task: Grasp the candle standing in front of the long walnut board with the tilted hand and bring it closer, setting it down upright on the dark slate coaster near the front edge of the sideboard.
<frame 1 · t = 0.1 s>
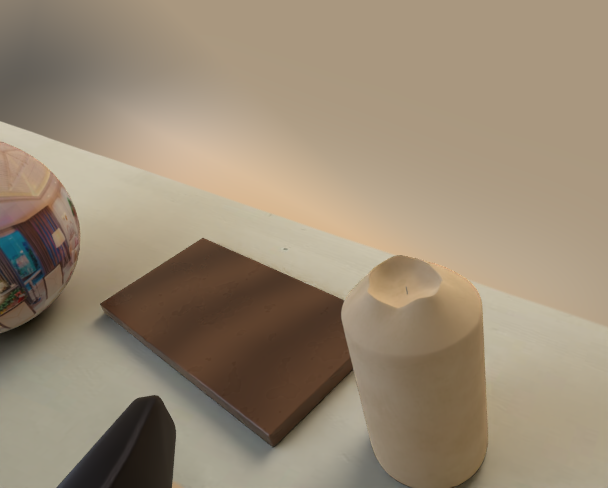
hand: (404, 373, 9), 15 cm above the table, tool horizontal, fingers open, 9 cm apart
ornament: (22, 314, 43), on the table
walnut board: (231, 321, 36), on the table
candle: (428, 441, 25), on the table
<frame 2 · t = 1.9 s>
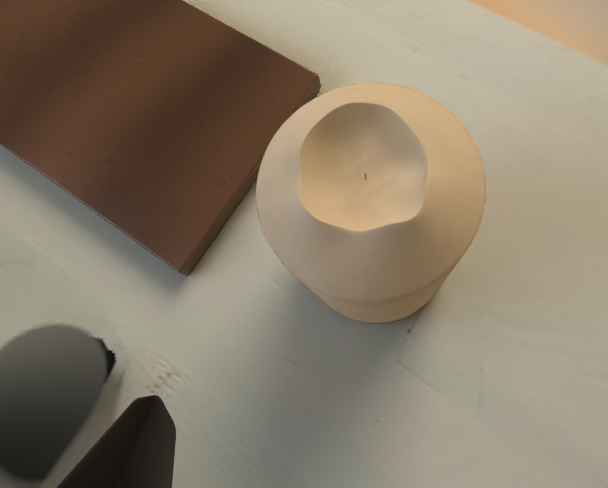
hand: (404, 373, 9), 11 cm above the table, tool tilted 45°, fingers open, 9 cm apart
walnut board: (89, 74, 25), on the table
candle: (375, 255, 21), on the table
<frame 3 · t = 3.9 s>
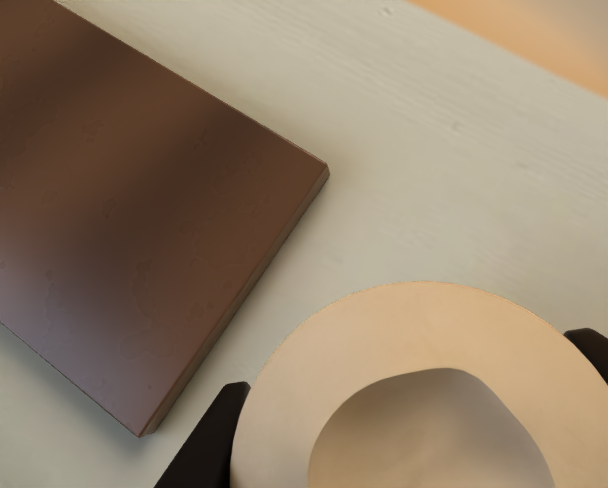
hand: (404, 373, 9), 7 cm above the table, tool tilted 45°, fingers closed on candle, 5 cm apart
walnut board: (29, 149, 19), on the table
candle: (404, 413, 15), on the table, touching gripper
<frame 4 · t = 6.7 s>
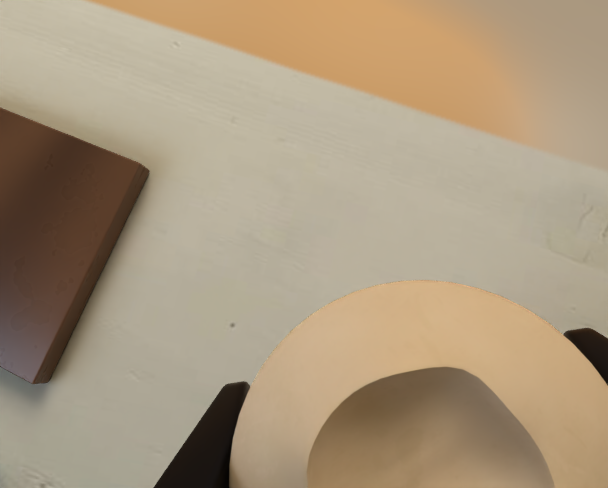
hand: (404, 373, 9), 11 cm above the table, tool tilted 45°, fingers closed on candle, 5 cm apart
candle: (404, 413, 15), point 4 cm above the table, touching gripper
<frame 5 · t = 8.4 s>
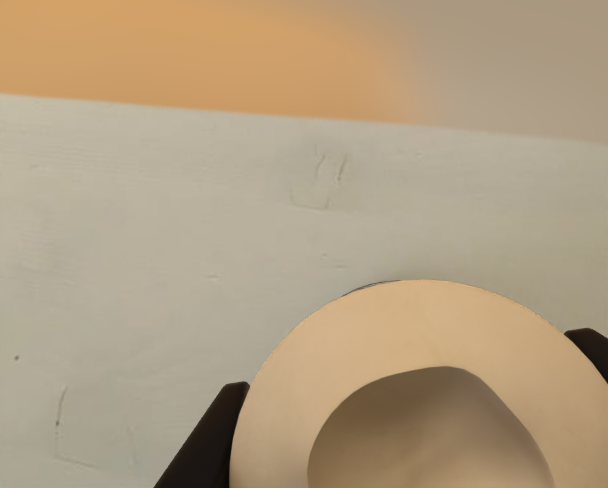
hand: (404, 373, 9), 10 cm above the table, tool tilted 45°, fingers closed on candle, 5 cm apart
candle: (404, 412, 15), point 3 cm above the table, touching gripper
when the fingers open (7 cm above the table, at t = 9.6 s): candle stays where it is, resting on coaster.
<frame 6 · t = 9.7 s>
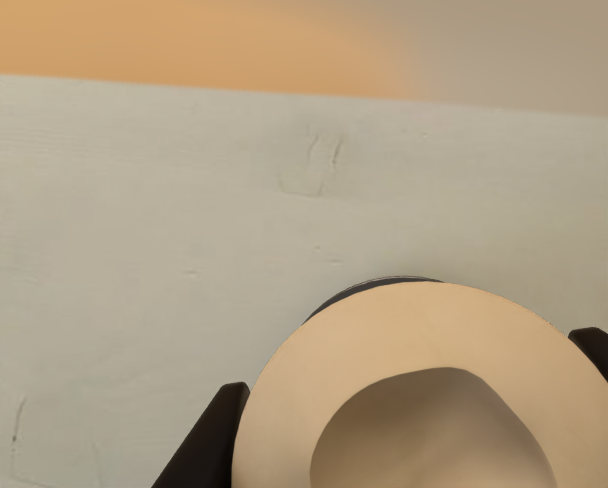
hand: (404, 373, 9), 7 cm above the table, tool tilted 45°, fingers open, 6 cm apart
coaster: (405, 407, 16), on the table
candle: (406, 416, 15), point 1 cm above the table, touching coaster
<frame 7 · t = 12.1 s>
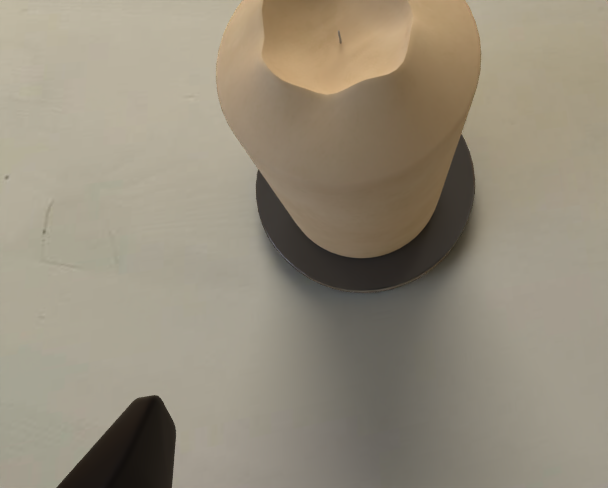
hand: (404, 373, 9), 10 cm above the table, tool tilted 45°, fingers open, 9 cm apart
coaster: (362, 188, 20), on the table
candle: (362, 187, 19), point 1 cm above the table, touching coaster
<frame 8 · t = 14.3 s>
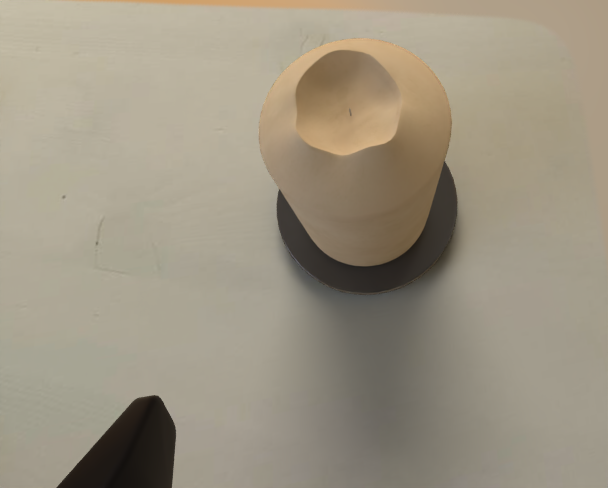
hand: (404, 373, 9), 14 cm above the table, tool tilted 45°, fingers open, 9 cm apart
coaster: (365, 208, 24), on the table
candle: (364, 208, 23), point 1 cm above the table, touching coaster
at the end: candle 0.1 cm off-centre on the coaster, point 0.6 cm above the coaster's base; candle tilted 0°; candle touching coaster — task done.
